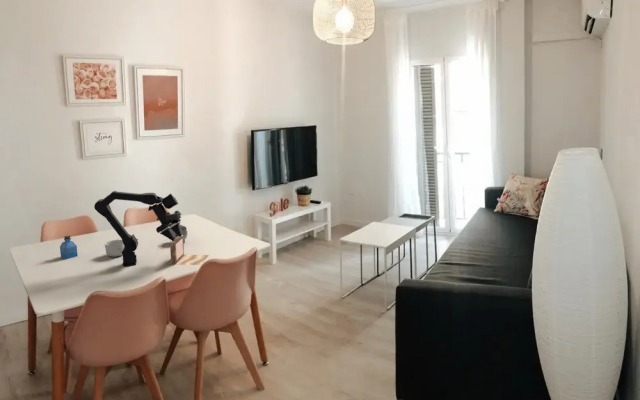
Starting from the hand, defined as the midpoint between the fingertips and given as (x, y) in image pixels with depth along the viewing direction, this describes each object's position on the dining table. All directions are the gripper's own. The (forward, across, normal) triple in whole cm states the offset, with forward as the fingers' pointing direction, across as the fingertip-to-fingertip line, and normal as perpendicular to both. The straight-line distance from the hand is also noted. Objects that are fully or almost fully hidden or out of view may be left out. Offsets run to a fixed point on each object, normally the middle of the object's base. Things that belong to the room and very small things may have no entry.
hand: (177, 238), depth 263 cm
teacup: (-10, +10, +42) cm, 45 cm away
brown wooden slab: (+10, +4, +9) cm, 14 cm away
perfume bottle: (-23, +2, +64) cm, 67 cm away
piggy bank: (+3, +38, +20) cm, 43 cm away
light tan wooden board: (+14, +6, +4) cm, 15 cm away
